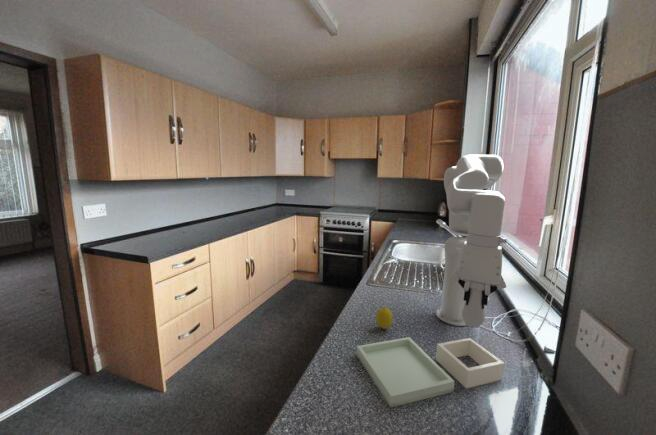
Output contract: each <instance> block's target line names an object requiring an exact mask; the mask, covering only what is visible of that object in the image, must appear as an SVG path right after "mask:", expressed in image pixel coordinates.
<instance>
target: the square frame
mask: <svg viewBox="0 0 656 435" xmlns="http://www.w3.org/2000/svg"><path fill="white" fill-rule="evenodd" d="M466 356H467V357H468V356H469V357H470V358H471V359H472V360H473V361H474V362H476V363H477V364H478V365H476V366H471V367H468V366H467V365H466V364H465V363H463V362H462V361H461V360H460V359H459V358H461V357H466ZM435 360H436V362H438V363H439V364H440V365H441V366H442V367H443V368H444V369H445V370H446V371H447V372H448V373H449V374H450V375H452V377H454V379H455V380H456V381H457V382H459V383H460V384H461V385H462V386H463V387H464V388H465V389H471V388H474V387H479V386H481V385H486V384H487V385H488V384H491V383H494V382H498V381H501V380H503V375H504V368H505V362H504V361H503V360H501V359H500V358H498V357H497V356H496V355H494V354H493V353H492V352H490V351H489V350H487V349H486V348H484V347H483V346H482V345H480V344H479V343H478V342H476V341H475V340H473V339H472V338H471V337H466V338H462V339H456V340H451V341H445V342H441V343H440V342H439V343H437V344H436V353H435Z"/></svg>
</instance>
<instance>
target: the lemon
mask: <svg viewBox="0 0 656 435" xmlns="http://www.w3.org/2000/svg"><path fill="white" fill-rule="evenodd" d="M375 319H376V324H377V325H378V327H380V328H382V329H383V330H385V329H388V328H389V327H391V325H392V323H393V313H392V312H391V310H390V309H389V308H387V307H381V308H379V309H378V310H377V313H376V317H375Z"/></svg>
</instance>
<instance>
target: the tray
mask: <svg viewBox="0 0 656 435" xmlns="http://www.w3.org/2000/svg"><path fill="white" fill-rule="evenodd" d="M356 357H357V359H359V361H360V363H361V364H362V366H363V367H364V369H365V370H366V372H367V373H368V376H370V378H371V379H372V381H373V383H374V385H376V387H377V389H378V391H379V393H381V395H382V397H383V399H384V400H385V402H386V403H387V404H388V406H389V408H394V407H399V406H403V405H406V404H411V403H415V402H419V401H422V400H426V399H431V398H434V397H439V396H443V395H446V394H450V393H454V390H455V384H456V383H455V380H454V379H453V378H452V377H451V376H450V375H449V374H448V373H447V372H446V371H445V370H444V369H443V368H442V367H440V366H439V364H437V363H436V361H435V360H433V358H431V357H430V356H429V354H427V353H426V352H425V351H424V350H423V349H422V348H421V347H420V346H419V345H418V344H417V342H415V341H414V339H412V338H411V337H410V336H408V337H403V338H396V339H390V340H384V341H378V342H372V343H368V344H362V345H361V344H360V345H357V346H356Z"/></svg>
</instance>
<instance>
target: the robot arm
mask: <svg viewBox="0 0 656 435" xmlns="http://www.w3.org/2000/svg"><path fill="white" fill-rule="evenodd" d="M503 172H504V161H503V159H502V158H501V156H499V155H496V154H467V155H464V156H462V157H460V158H459V159H458V161H457V162H456V165H455V166H451V167H448V168H446V170H445V172H444V175H443V186H444V191H445V194H446V205H447V208H448V227H449V231H450V233H451V234H453V235H456V236H452V237H449V238H447V239H446V240H445V242H444V250H443V251H444V272H443V273H444V276H443V282H442V285H443V286H442V294H441V295H442V296H441V304H440V306H441V307H440V308H437V309H436V312H435V316H436V317H437V319H439V320H441V321H442V322H444V323H445V324H449V325H451V326H458V327H467V326H468V325H466V324H465V322H464V320H463V317H462V310H463V307H464V304H465V301H466V305H468V302H469V299H470V287H469V286H470V282H471V281H473V282H479V283H484V284H485V290H483V294H482V303H481V304H482V309H484V310H485V306H488V300H489V296H490V295H491V294H493V293H495V292H496V291H497V290H498V291H499V290H502V289H503V290H504V289H506V288H507V284H506V282H505V280H504V277H503V275H502V272H503V271H502V270H503V269H502V267H503V249H502V248H503V247H502V246H501V244H507V238H505V237H502V236H501V232H502V225H503V219H504V218H503V217H504V211H505V205H506V204H505V202H506V198H505V196H504V195H503V194H502V193H501V192H500V191H498V190H497V191H496V190H492V189H491V190H490V189H489V188H491V187H493V186H494V184H496V183H497V182H498V181H499V180H500V178H502V175H503V174H504V173H503ZM486 189H489V190H486Z"/></svg>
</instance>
